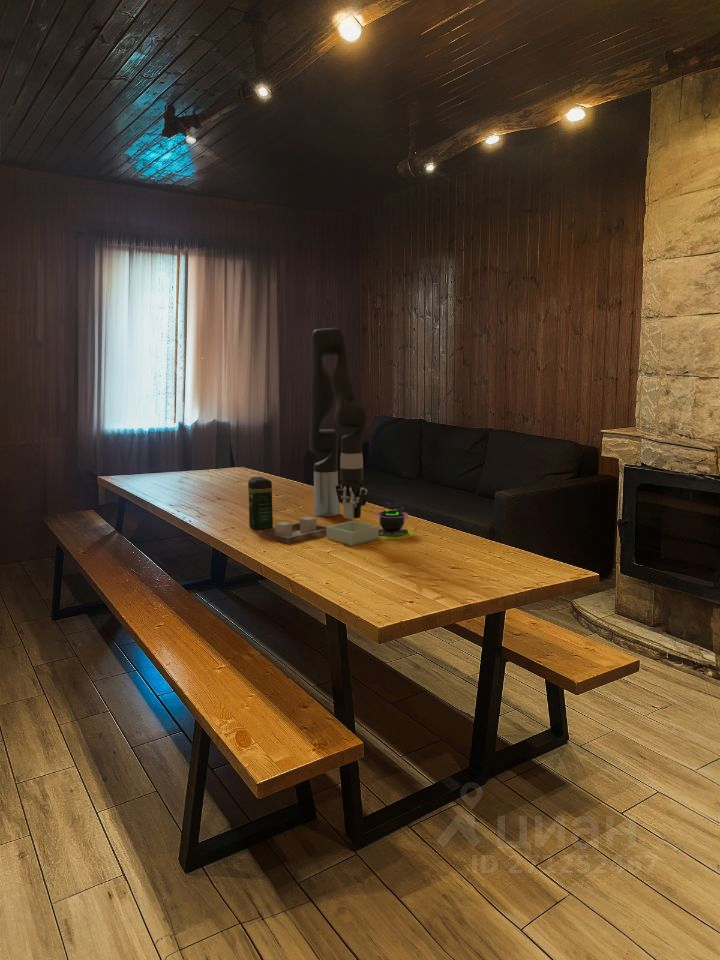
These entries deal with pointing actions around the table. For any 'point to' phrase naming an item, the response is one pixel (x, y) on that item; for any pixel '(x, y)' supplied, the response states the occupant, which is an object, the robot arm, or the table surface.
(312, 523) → the grey rectangular block
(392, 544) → the table surface
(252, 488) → the coffee jar
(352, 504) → the stone
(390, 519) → the toy cauldron
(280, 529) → the stone
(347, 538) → the dump tub
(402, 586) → the table surface
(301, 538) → the tray
